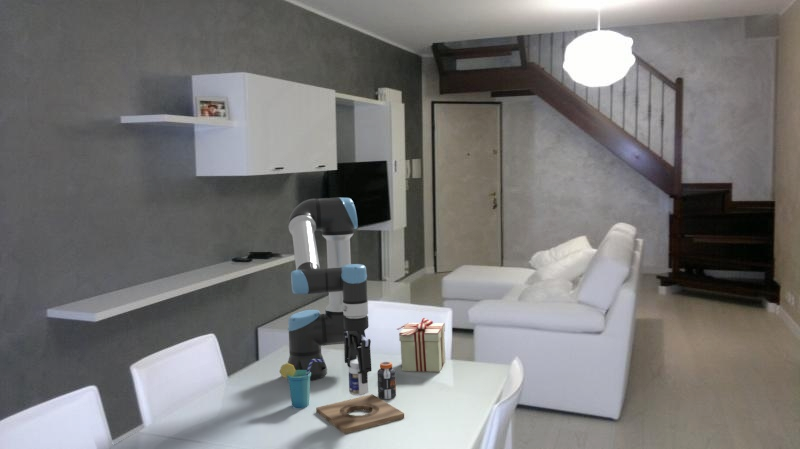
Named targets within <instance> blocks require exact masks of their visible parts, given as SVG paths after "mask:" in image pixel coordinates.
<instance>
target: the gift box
mask: <svg viewBox="0 0 800 449" xmlns="http://www.w3.org/2000/svg"><path fill="white" fill-rule="evenodd" d="M396 330H398V331H399V330H400V331H399V333H398V338H399V342H400V354H401V357H400V358H401V371H402V372H419V373H440V372H441V370H442V369H443V367H444V364H445V362H446V343H445V342H446V339H445V332H446V324H445V322H434V321H433V320H430V319H427V318H425V317H423V318H422V319H421V322H407V323H405V324H402V326H400V327H398V328H396Z"/></svg>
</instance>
